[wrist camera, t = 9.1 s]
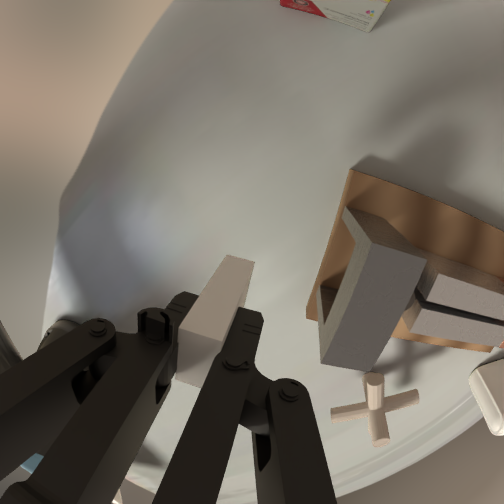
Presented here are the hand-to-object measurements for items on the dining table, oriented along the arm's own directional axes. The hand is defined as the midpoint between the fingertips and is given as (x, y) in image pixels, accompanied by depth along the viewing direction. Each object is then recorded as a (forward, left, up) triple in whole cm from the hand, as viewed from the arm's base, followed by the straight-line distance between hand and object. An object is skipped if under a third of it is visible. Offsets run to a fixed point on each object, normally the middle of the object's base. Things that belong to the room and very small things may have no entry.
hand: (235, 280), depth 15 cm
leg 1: (+21, +1, -9) cm, 23 cm away
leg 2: (+21, -2, -9) cm, 23 cm away
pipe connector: (+17, -15, -12) cm, 25 cm away
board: (+19, 0, -11) cm, 22 cm away
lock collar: (+8, 0, -9) cm, 12 cm away
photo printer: (+39, -11, -12) cm, 42 cm away
